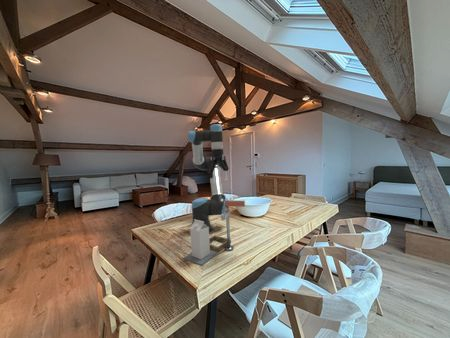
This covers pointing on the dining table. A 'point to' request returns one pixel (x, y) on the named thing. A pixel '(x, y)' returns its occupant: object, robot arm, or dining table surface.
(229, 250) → the base
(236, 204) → the signpost
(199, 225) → the milk carton
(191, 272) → the dining table surface
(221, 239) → the frame
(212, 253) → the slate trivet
